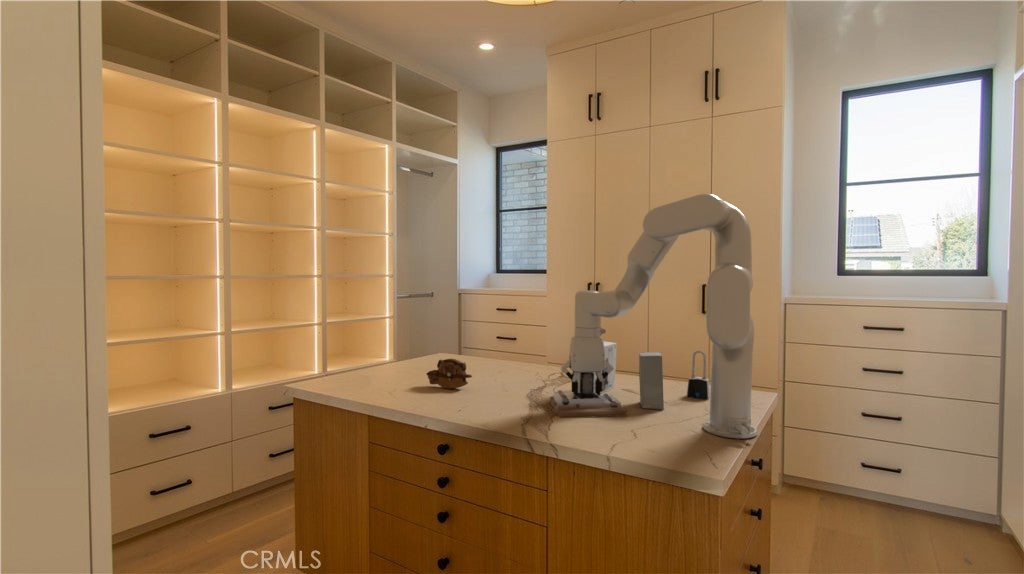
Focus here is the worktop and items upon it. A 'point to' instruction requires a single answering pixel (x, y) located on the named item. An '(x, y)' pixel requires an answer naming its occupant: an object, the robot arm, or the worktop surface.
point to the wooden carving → (449, 374)
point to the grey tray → (584, 400)
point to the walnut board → (588, 411)
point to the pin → (586, 384)
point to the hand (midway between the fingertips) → (586, 393)
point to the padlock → (698, 382)
